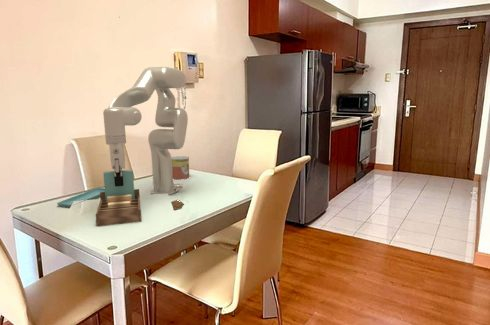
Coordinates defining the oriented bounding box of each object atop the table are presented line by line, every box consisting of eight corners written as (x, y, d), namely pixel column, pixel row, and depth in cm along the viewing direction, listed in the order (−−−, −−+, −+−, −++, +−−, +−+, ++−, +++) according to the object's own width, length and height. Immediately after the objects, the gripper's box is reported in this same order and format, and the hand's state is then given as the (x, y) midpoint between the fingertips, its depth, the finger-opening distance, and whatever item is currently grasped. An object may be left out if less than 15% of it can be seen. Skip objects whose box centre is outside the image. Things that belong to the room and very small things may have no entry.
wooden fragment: (166, 220, 134) (166, 217, 134) (140, 218, 137) (140, 215, 137) (192, 201, 159) (192, 199, 158) (170, 199, 161) (170, 197, 161)
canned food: (180, 180, 197) (179, 160, 195) (166, 178, 203) (165, 158, 201) (193, 177, 206) (192, 157, 204) (179, 174, 212) (178, 155, 210)
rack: (140, 209, 146) (139, 188, 145) (141, 225, 128) (140, 201, 126) (101, 213, 142) (100, 192, 140) (97, 230, 123) (95, 206, 122)
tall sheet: (135, 207, 144) (132, 169, 141) (135, 209, 142) (132, 171, 139) (107, 210, 141) (103, 171, 138) (106, 212, 139) (103, 173, 136)
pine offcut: (131, 214, 135) (130, 200, 134) (131, 216, 133) (130, 202, 132) (109, 216, 133) (108, 202, 132) (109, 218, 131) (107, 204, 130)
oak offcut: (132, 211, 140) (131, 194, 138) (132, 212, 137) (131, 195, 136) (108, 213, 137) (107, 196, 136) (108, 215, 135) (106, 198, 133)
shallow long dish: (73, 209, 148) (73, 204, 148) (56, 207, 151) (55, 202, 150) (112, 193, 173) (112, 188, 173) (97, 192, 175) (96, 187, 175)
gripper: (125, 141, 130) (128, 189, 133) (126, 137, 145) (129, 180, 148) (103, 142, 127) (108, 191, 131) (107, 138, 142) (110, 181, 146)
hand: (119, 184), depth 139 cm, fingers closed on tall sheet, 2 cm apart
